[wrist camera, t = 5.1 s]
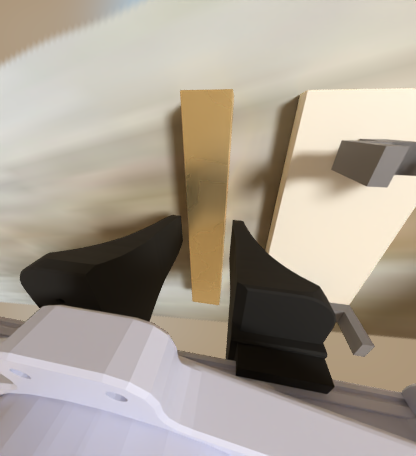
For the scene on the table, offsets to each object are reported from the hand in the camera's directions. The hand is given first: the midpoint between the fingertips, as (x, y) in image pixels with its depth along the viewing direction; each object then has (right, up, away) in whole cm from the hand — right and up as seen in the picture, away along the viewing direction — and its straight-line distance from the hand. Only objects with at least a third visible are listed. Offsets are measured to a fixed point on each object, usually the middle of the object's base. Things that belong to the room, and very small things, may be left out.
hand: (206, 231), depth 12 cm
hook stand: (+8, 0, +1) cm, 8 cm away
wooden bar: (0, +1, +2) cm, 2 cm away
